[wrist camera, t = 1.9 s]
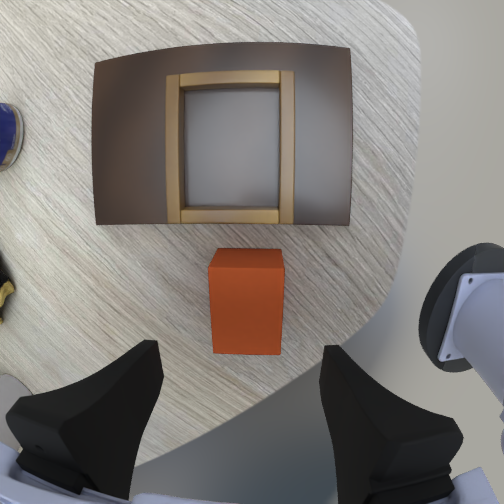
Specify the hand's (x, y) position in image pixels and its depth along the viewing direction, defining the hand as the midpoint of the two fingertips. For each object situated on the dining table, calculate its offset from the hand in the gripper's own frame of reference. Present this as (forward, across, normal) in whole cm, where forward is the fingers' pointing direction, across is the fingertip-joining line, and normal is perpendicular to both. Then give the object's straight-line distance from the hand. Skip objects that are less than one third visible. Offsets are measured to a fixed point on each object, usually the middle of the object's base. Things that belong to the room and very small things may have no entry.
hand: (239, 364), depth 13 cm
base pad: (+8, +2, -10) cm, 13 cm away
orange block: (+8, 0, 0) cm, 8 cm away
